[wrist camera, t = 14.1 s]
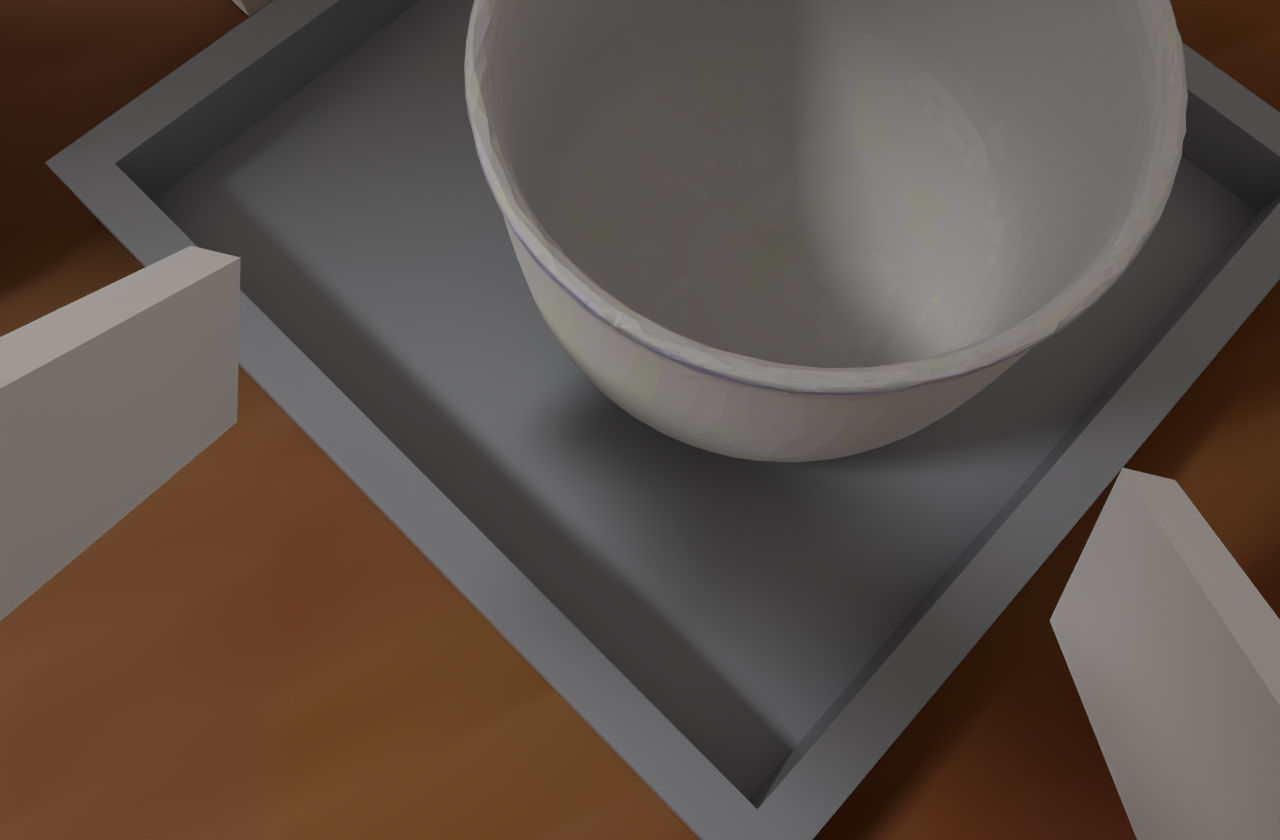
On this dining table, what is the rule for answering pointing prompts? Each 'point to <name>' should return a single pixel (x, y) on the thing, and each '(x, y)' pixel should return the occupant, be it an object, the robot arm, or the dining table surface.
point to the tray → (624, 446)
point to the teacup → (820, 196)
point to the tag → (250, 5)
